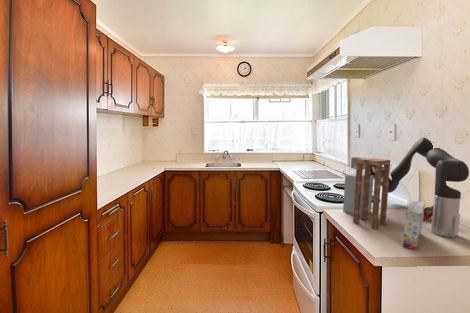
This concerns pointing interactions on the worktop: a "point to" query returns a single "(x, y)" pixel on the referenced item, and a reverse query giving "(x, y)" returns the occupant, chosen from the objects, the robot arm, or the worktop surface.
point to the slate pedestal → (350, 193)
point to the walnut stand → (377, 186)
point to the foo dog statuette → (428, 212)
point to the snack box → (413, 225)
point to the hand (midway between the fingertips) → (366, 161)
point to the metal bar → (355, 162)
